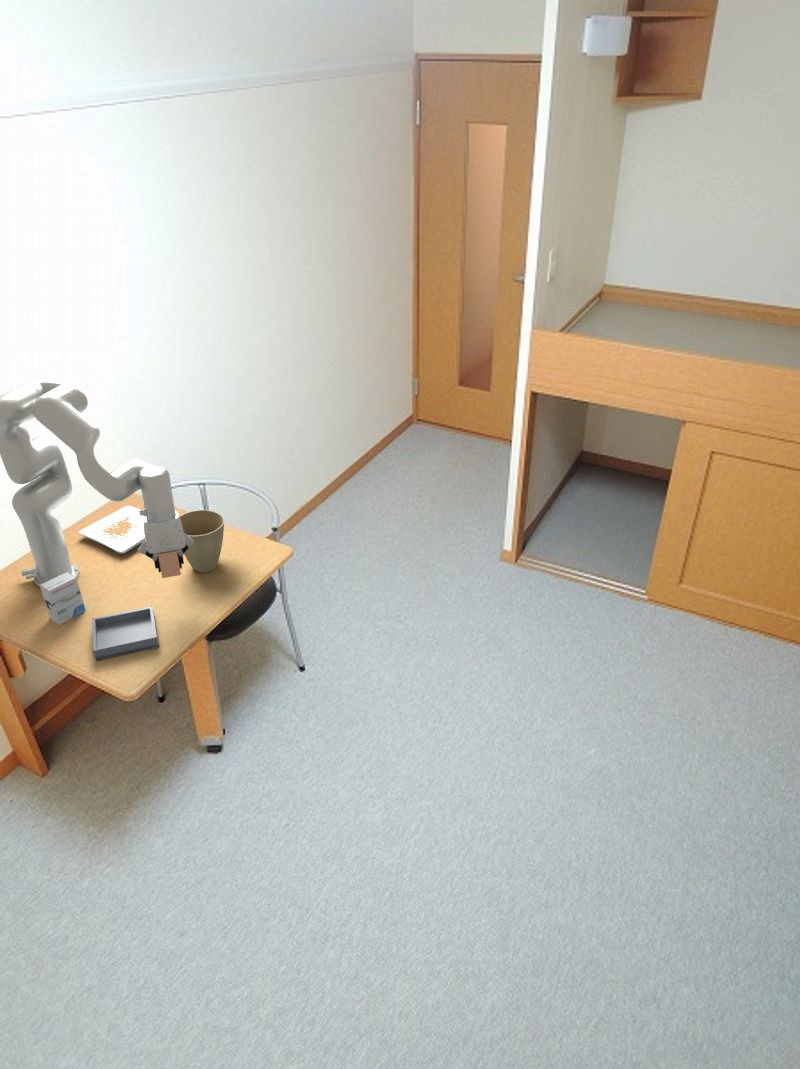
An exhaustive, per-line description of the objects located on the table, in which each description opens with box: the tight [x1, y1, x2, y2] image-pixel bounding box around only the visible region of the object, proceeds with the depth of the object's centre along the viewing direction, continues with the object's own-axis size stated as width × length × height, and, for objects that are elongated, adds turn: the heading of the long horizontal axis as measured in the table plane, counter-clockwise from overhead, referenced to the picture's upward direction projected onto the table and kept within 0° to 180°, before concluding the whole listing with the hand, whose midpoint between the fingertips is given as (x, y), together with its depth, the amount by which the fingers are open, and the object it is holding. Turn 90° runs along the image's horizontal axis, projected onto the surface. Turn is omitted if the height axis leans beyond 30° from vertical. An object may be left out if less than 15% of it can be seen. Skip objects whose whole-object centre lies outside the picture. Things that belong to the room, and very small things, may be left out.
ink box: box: [39, 572, 86, 625], centre depth 209 cm, size 8×5×12 cm, turn 141°
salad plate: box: [78, 505, 145, 554], centre depth 247 cm, size 21×21×3 cm
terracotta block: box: [158, 550, 182, 579], centre depth 207 cm, size 5×5×8 cm
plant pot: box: [179, 509, 225, 573], centre depth 228 cm, size 15×15×16 cm
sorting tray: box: [91, 605, 160, 661], centre depth 203 cm, size 16×14×4 cm
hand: (169, 567), depth 208 cm, fingers closed on terracotta block, 5 cm apart
